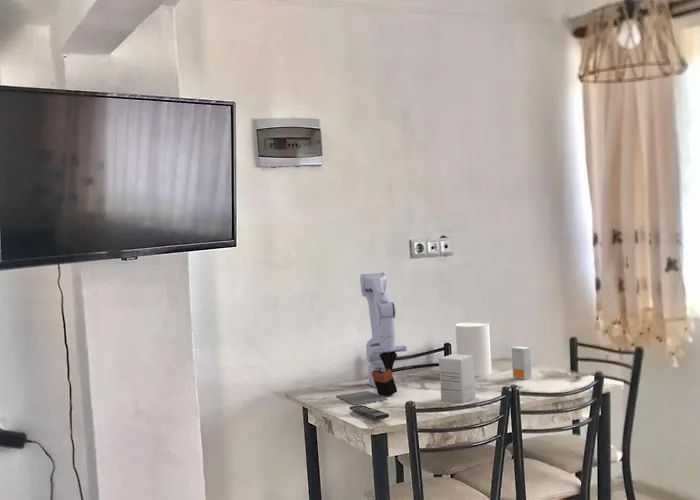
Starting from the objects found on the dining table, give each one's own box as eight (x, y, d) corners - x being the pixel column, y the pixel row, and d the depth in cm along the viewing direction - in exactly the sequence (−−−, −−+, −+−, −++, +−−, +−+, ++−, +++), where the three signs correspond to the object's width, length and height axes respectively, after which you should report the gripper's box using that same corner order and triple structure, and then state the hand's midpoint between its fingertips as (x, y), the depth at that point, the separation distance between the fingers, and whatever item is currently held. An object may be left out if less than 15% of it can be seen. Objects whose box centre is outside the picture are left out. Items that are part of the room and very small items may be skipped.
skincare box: (512, 378, 282) (510, 347, 282) (519, 376, 284) (518, 345, 284) (524, 380, 277) (523, 348, 277) (532, 378, 280) (530, 347, 279)
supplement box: (453, 395, 258) (451, 353, 258) (476, 397, 252) (473, 355, 252) (440, 400, 251) (437, 357, 251) (462, 403, 245) (460, 359, 245)
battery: (389, 397, 261) (381, 372, 259) (377, 394, 266) (369, 370, 264) (398, 391, 263) (390, 366, 261) (386, 388, 269) (378, 364, 267)
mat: (336, 396, 267) (336, 395, 267) (368, 391, 272) (368, 390, 272) (353, 405, 251) (353, 404, 251) (387, 400, 256) (387, 399, 256)
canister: (451, 372, 299) (449, 324, 299) (478, 368, 305) (476, 321, 304) (470, 377, 287) (467, 327, 286) (498, 373, 293) (495, 324, 292)
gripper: (373, 339, 258) (375, 377, 258) (409, 335, 264) (411, 372, 264) (365, 337, 265) (367, 374, 265) (401, 333, 270) (403, 369, 270)
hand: (389, 373), depth 265 cm, fingers closed
